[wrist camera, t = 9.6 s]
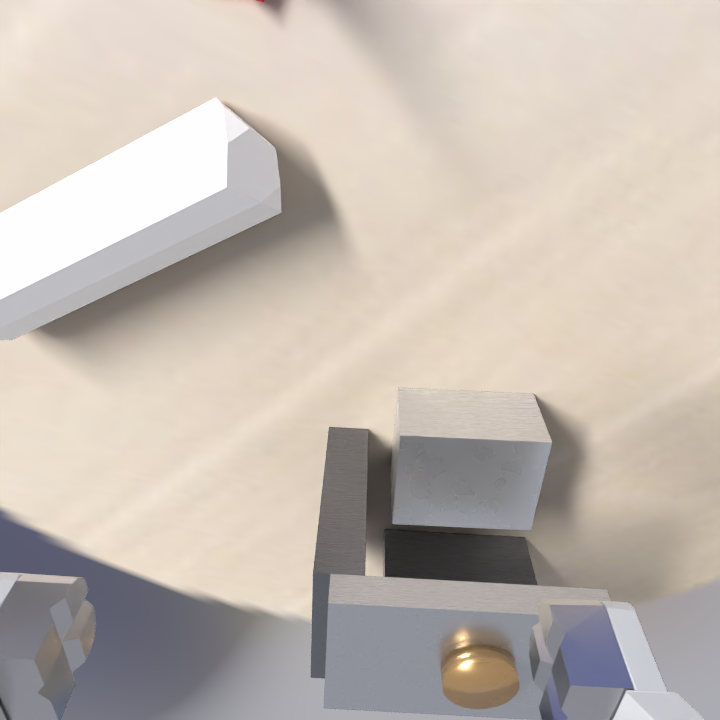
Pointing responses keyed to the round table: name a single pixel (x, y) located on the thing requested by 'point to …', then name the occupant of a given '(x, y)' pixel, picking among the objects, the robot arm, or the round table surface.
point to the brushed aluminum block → (467, 458)
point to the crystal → (134, 215)
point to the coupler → (420, 609)
